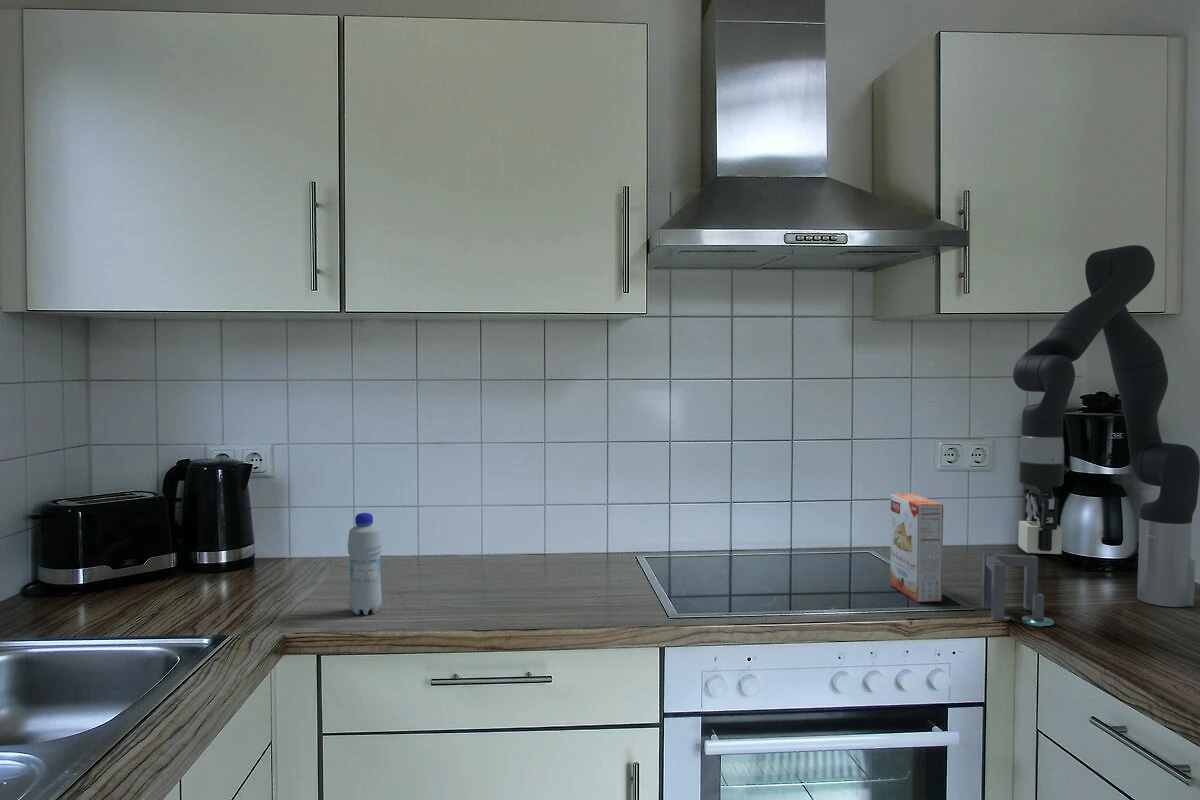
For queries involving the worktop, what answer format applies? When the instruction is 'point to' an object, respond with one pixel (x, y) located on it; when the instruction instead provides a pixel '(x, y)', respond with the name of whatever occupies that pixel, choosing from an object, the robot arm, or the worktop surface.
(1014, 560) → the rail
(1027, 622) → the peg
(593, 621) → the worktop surface
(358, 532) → the bottle
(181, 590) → the worktop surface
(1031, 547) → the white square tube
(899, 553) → the cracker box
